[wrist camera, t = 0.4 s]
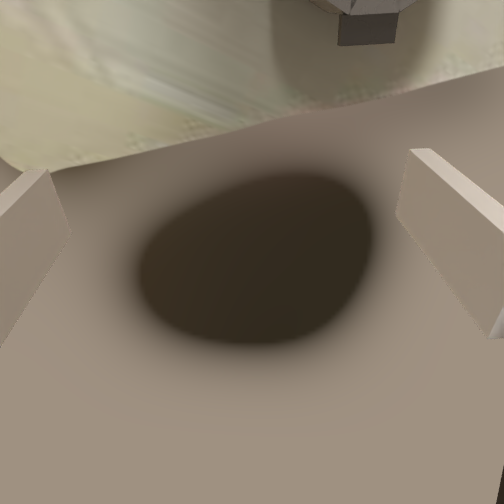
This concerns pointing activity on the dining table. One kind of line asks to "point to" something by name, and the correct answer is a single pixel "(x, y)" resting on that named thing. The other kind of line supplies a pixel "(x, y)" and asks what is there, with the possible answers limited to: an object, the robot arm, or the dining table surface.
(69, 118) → the dining table surface
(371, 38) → the pot
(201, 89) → the dining table surface
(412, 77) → the dining table surface
